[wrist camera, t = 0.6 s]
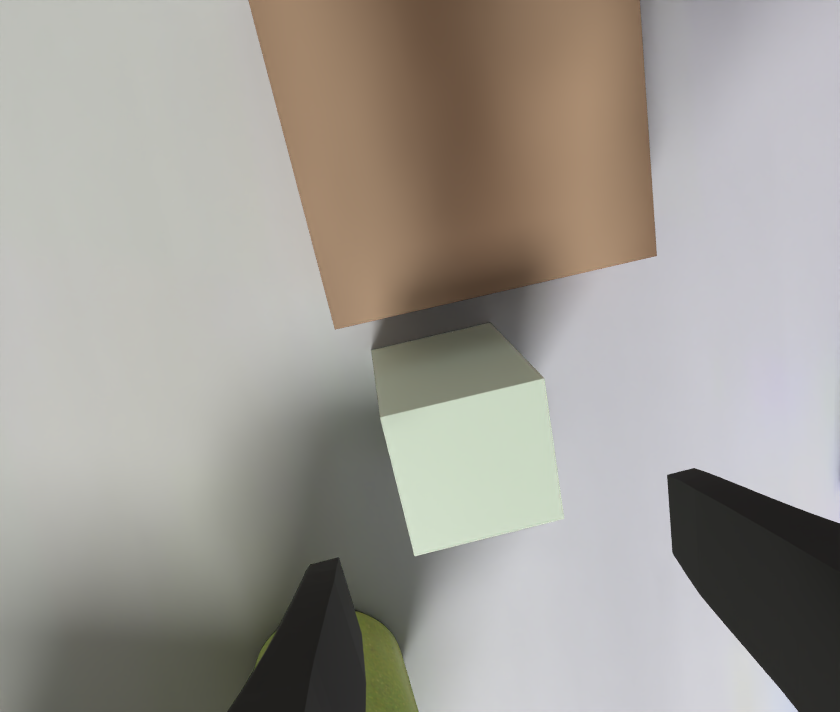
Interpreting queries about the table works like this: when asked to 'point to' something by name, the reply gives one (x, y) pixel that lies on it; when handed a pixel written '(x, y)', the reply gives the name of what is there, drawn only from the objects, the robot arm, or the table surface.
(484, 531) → the sage block
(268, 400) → the table surface
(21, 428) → the table surface
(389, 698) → the plant pot
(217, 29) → the table surface
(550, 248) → the walnut slab
